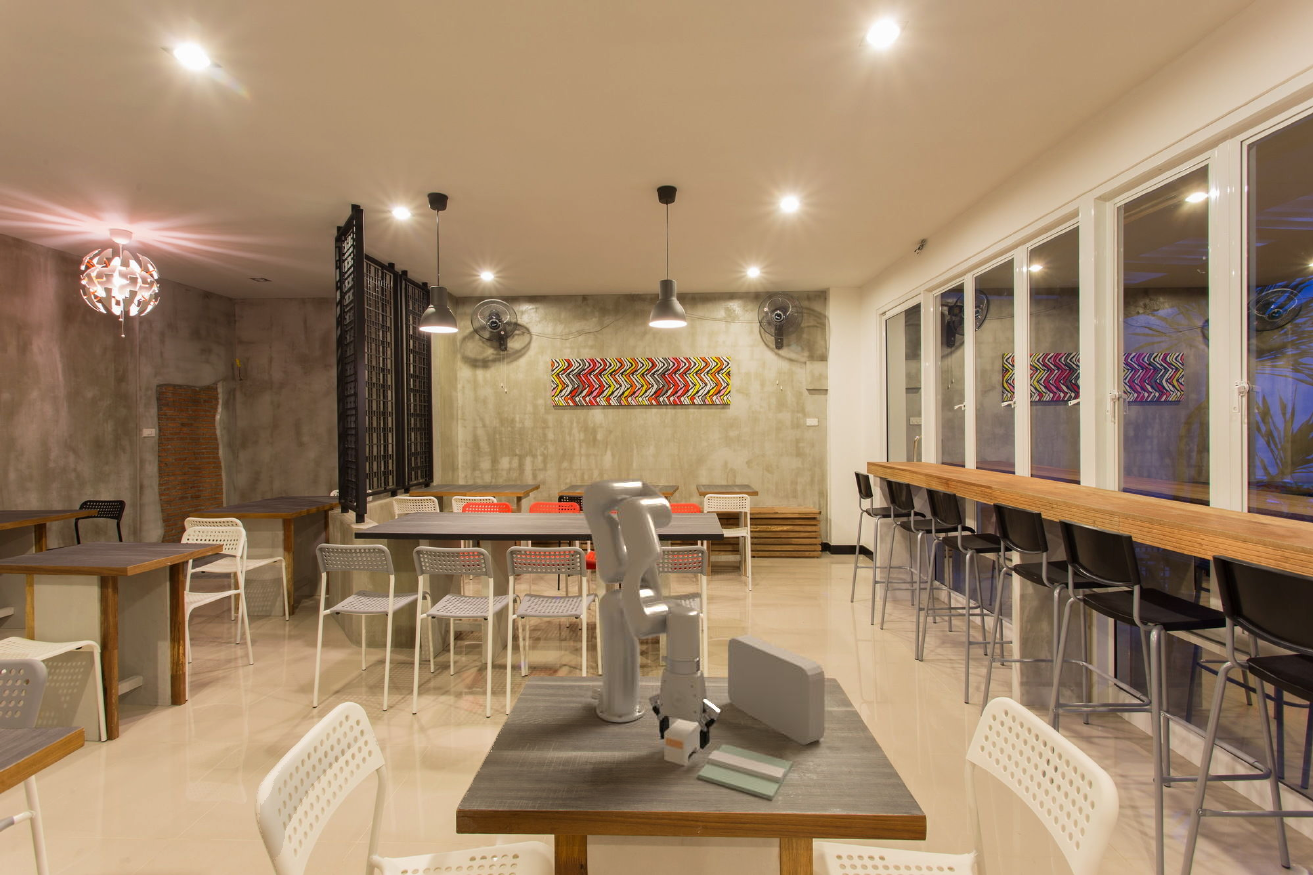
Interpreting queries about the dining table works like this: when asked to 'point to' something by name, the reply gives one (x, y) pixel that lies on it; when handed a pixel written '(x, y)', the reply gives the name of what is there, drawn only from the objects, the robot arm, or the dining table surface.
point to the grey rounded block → (777, 688)
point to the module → (681, 741)
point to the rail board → (746, 771)
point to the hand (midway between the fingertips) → (684, 741)
